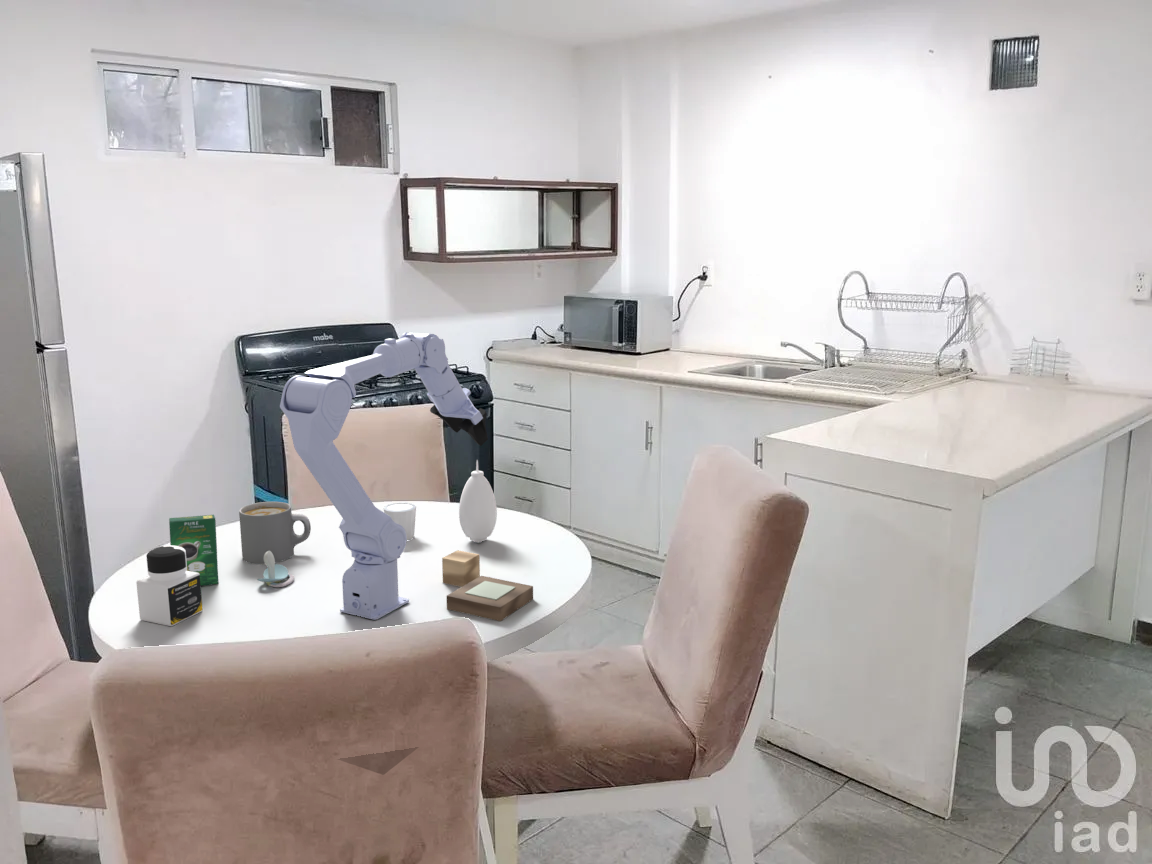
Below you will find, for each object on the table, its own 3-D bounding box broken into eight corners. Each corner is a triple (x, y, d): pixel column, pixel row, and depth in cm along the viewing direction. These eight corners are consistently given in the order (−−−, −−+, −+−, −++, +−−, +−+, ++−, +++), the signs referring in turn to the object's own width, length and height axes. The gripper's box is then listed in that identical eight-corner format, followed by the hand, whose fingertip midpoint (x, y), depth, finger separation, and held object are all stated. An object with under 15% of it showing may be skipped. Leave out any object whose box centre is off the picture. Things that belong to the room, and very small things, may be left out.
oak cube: (464, 588, 168) (464, 562, 167) (442, 583, 171) (442, 558, 170) (479, 579, 173) (479, 554, 172) (458, 574, 175) (457, 550, 174)
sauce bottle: (481, 549, 189) (480, 465, 186) (452, 543, 193) (450, 460, 190) (504, 539, 196) (503, 458, 192) (475, 533, 200) (473, 453, 196)
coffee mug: (236, 564, 180) (232, 516, 178) (250, 548, 189) (246, 501, 187) (305, 563, 181) (302, 514, 179) (315, 546, 190) (313, 500, 188)
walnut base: (500, 621, 153) (500, 606, 153) (446, 609, 158) (446, 594, 158) (533, 599, 163) (533, 585, 162) (481, 588, 168) (481, 574, 167)
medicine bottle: (171, 627, 150) (165, 558, 148) (139, 620, 153) (132, 552, 150) (203, 611, 157) (198, 545, 154) (171, 605, 159) (166, 539, 157)
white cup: (409, 544, 192) (408, 512, 191) (379, 541, 194) (378, 510, 192) (421, 534, 199) (420, 503, 198) (392, 531, 200) (391, 501, 199)
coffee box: (219, 579, 172) (214, 512, 169) (220, 584, 169) (215, 516, 166) (173, 585, 169) (167, 517, 166) (173, 590, 166) (167, 521, 163)
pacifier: (298, 576, 174) (266, 575, 174) (297, 545, 173) (265, 544, 173) (288, 590, 167) (255, 590, 167) (287, 558, 166) (254, 557, 165)
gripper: (481, 383, 164) (509, 434, 173) (435, 361, 174) (463, 410, 183) (454, 408, 162) (483, 458, 171) (408, 384, 171) (438, 433, 180)
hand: (471, 435), depth 177 cm, fingers open, 7 cm apart
